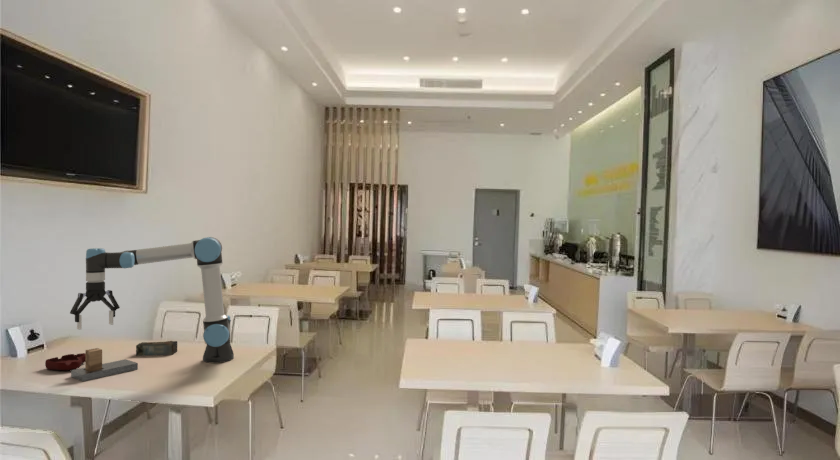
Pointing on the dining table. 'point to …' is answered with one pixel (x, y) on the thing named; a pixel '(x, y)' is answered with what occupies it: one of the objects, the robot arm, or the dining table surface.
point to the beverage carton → (156, 348)
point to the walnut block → (93, 359)
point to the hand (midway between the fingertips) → (95, 326)
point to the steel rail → (105, 370)
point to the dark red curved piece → (66, 362)
